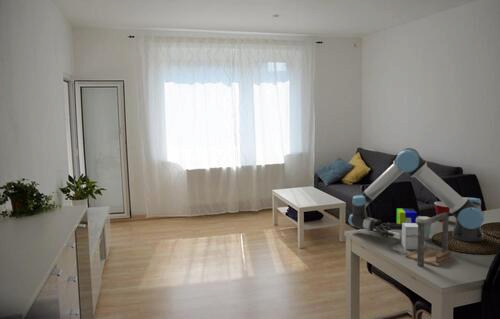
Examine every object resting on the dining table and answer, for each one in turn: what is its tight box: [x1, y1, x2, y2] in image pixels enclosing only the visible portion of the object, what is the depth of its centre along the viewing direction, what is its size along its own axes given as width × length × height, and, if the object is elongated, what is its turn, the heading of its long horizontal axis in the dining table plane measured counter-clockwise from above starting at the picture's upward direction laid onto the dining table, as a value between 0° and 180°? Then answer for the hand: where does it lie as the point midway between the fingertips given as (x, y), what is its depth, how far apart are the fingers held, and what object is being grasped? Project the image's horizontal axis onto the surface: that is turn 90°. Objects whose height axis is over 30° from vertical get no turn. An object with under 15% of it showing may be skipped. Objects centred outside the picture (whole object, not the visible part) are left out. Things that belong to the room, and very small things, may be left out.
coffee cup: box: [416, 215, 432, 241], centre depth 208 cm, size 8×8×12 cm
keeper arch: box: [405, 212, 454, 268], centre depth 180 cm, size 16×26×21 cm, turn 127°
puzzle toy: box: [396, 207, 418, 224], centre depth 231 cm, size 10×10×10 cm
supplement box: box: [401, 223, 418, 250], centre depth 195 cm, size 7×7×13 cm
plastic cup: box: [433, 201, 451, 223], centre depth 237 cm, size 11×11×12 cm
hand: (406, 233), depth 196 cm, fingers open, 13 cm apart
